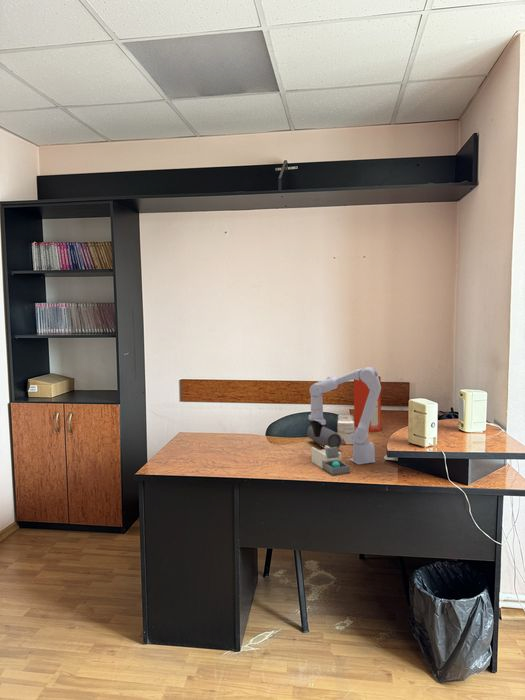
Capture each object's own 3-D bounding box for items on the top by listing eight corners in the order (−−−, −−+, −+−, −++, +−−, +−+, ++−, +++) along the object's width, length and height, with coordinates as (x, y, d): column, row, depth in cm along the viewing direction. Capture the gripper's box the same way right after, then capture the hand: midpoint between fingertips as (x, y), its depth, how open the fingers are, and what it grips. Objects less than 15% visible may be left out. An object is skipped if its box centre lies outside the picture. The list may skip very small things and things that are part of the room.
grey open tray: (340, 467, 215) (340, 460, 215) (349, 473, 207) (349, 466, 207) (323, 469, 212) (323, 463, 212) (332, 475, 205) (332, 468, 205)
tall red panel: (368, 432, 277) (368, 377, 274) (353, 425, 293) (353, 373, 291) (381, 431, 279) (380, 376, 277) (365, 424, 296) (365, 373, 293)
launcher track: (326, 459, 227) (326, 445, 227) (341, 468, 214) (341, 453, 214) (311, 461, 225) (311, 447, 224) (325, 470, 211) (325, 455, 211)
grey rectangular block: (335, 455, 215) (335, 446, 215) (338, 456, 214) (338, 447, 213) (325, 456, 214) (325, 448, 213) (327, 458, 212) (327, 449, 212)
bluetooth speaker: (306, 442, 259) (305, 423, 258) (321, 440, 262) (321, 422, 262) (326, 453, 238) (326, 433, 237) (342, 451, 241) (342, 431, 240)
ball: (337, 466, 213) (338, 459, 212) (340, 470, 210) (342, 464, 209) (329, 467, 212) (331, 460, 211) (333, 472, 209) (334, 465, 207)
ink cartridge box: (337, 444, 252) (337, 417, 251) (337, 442, 257) (337, 415, 256) (354, 444, 251) (354, 417, 250) (353, 442, 256) (353, 415, 255)
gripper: (302, 406, 234) (303, 433, 235) (315, 412, 220) (316, 441, 221) (315, 405, 236) (316, 432, 237) (329, 410, 222) (330, 439, 223)
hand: (317, 436), depth 229 cm, fingers closed
